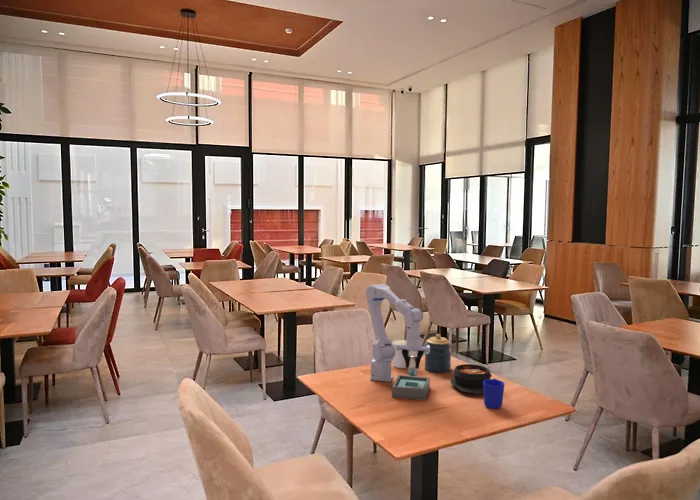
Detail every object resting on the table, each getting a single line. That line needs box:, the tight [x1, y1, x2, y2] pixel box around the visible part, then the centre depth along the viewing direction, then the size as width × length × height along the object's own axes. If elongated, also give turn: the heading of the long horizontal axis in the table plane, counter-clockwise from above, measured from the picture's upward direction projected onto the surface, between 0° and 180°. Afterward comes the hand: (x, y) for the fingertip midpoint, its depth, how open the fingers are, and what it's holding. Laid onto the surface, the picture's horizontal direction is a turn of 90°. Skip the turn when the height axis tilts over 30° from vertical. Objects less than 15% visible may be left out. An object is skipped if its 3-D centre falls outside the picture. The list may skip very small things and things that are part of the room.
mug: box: [483, 378, 505, 410], centre depth 202 cm, size 8×12×10 cm
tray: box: [391, 374, 431, 401], centre depth 216 cm, size 14×16×4 cm
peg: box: [407, 354, 418, 377], centre depth 218 cm, size 4×4×8 cm
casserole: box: [450, 363, 493, 394], centre depth 223 cm, size 25×19×8 cm
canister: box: [424, 333, 452, 373], centre depth 248 cm, size 13×13×18 cm
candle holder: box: [392, 339, 412, 369], centre depth 253 cm, size 10×10×12 cm
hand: (412, 367), depth 218 cm, fingers closed on peg, 4 cm apart
